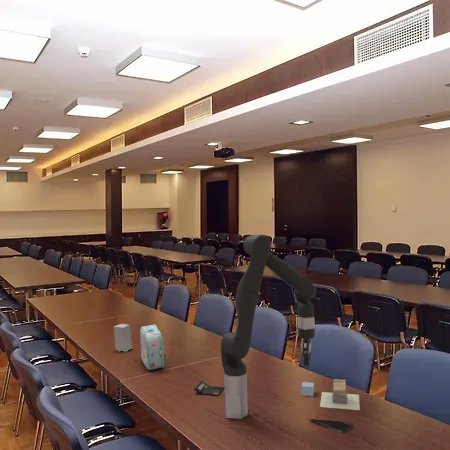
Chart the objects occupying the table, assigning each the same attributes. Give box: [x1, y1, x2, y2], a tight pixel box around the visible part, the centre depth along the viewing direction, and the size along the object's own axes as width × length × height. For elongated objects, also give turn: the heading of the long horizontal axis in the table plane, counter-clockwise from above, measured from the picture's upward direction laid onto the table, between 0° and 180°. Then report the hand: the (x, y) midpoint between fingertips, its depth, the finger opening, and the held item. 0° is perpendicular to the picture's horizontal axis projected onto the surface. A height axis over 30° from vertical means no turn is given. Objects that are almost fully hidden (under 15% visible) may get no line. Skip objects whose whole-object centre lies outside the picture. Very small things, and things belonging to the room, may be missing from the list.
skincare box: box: [113, 323, 133, 353], centre depth 280 cm, size 8×7×16 cm
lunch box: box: [139, 324, 166, 371], centre depth 252 cm, size 27×10×21 cm, turn 20°
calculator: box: [193, 380, 225, 397], centre depth 213 cm, size 9×12×3 cm
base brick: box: [332, 389, 348, 404], centre depth 196 cm, size 6×6×3 cm
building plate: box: [319, 391, 361, 411], centre depth 196 cm, size 16×16×1 cm
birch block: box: [332, 378, 347, 396], centre depth 196 cm, size 5×5×5 cm
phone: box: [309, 418, 354, 434], centre depth 177 cm, size 8×1×15 cm
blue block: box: [301, 381, 315, 397], centre depth 205 cm, size 5×5×5 cm
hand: (307, 362), depth 205 cm, fingers open, 8 cm apart
